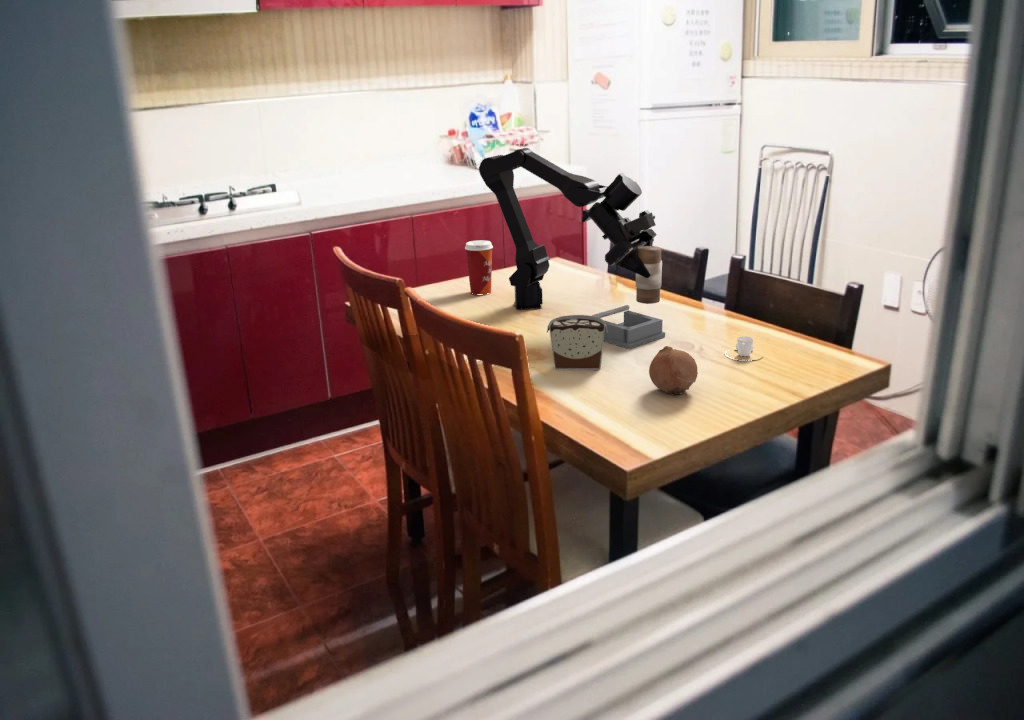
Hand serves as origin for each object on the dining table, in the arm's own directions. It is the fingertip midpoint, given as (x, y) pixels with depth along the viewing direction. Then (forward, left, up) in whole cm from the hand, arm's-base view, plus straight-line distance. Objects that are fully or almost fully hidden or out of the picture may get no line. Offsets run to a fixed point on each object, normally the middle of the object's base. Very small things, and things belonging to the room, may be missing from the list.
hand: (654, 273), depth 194 cm
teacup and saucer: (+16, -26, -13) cm, 33 cm away
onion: (-8, -43, -12) cm, 45 cm away
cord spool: (-1, +1, -7) cm, 7 cm away
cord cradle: (-9, -9, -12) cm, 17 cm away
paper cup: (-39, +36, -12) cm, 54 cm away
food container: (-23, -25, -12) cm, 36 cm away
